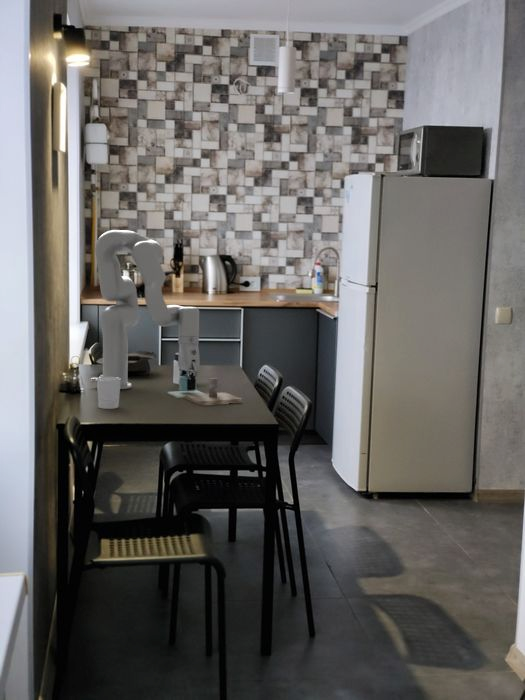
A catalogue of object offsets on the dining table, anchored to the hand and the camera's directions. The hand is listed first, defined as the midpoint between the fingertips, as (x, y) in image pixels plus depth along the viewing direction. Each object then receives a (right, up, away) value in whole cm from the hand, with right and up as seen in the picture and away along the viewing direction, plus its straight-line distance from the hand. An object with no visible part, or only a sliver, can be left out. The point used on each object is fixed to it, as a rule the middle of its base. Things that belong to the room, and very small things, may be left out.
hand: (187, 387), depth 344 cm
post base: (+10, -4, -10) cm, 15 cm away
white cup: (-25, -6, -27) cm, 37 cm away
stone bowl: (-30, +4, +45) cm, 54 cm away
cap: (0, -1, 0) cm, 1 cm away
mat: (0, -3, 0) cm, 3 cm away
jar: (-3, +1, +26) cm, 26 cm away
